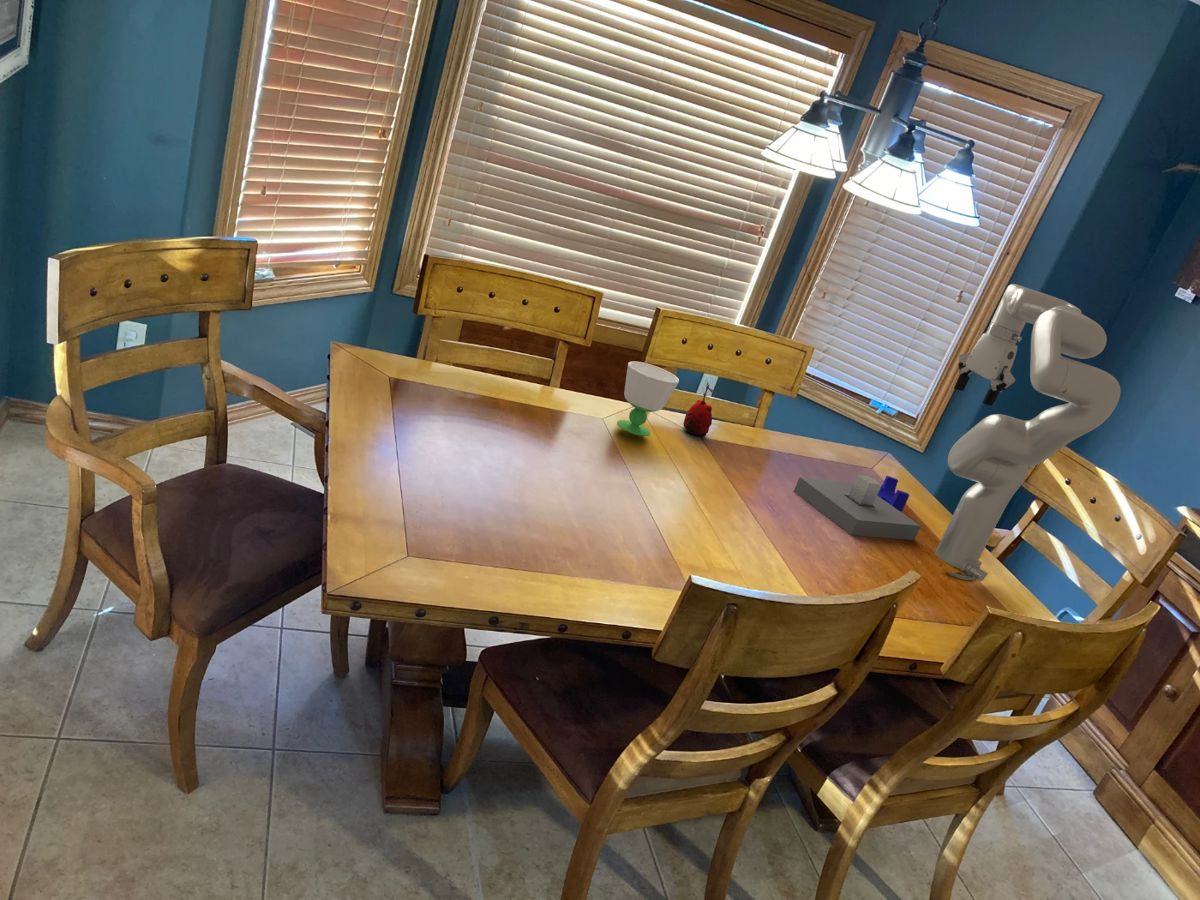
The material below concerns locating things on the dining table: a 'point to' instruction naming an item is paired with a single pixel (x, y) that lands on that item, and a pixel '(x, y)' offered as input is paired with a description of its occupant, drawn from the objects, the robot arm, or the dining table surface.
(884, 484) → the blue stepped block
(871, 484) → the metal bar
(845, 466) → the dining table surface
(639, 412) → the cup
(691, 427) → the red fruit with stem
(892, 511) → the well block
